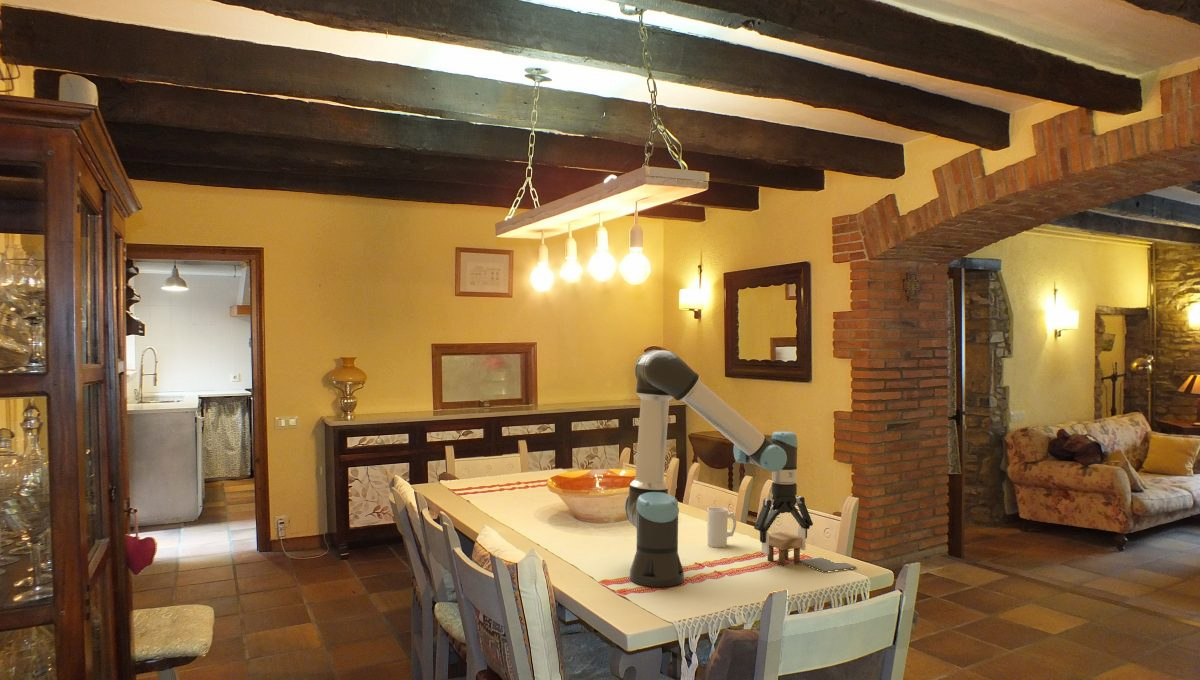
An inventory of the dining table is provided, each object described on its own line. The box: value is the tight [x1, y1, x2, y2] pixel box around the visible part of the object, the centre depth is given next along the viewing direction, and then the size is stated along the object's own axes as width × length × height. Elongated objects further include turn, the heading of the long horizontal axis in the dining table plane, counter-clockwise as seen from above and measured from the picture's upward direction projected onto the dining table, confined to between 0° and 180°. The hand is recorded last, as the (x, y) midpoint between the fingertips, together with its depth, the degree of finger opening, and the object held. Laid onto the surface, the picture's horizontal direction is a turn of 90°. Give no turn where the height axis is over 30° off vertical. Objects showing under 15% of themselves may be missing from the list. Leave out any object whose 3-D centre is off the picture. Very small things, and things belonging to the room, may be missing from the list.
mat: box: [800, 557, 857, 573], centre depth 230 cm, size 12×12×1 cm
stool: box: [767, 531, 803, 567], centre depth 234 cm, size 8×8×8 cm
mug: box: [706, 506, 737, 549], centre depth 253 cm, size 10×7×12 cm, turn 101°
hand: (783, 551), depth 234 cm, fingers open, 13 cm apart
